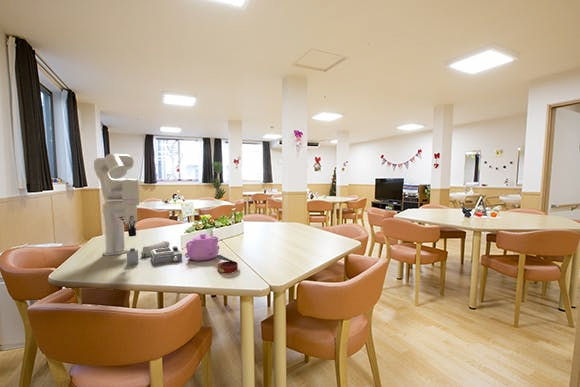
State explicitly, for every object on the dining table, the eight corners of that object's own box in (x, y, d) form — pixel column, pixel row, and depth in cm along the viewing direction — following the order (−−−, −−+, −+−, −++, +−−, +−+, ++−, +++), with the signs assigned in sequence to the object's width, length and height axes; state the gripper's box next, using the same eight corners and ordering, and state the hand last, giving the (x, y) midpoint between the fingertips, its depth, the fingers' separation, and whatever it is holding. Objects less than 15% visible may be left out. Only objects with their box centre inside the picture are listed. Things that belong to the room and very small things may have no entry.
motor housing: (150, 258, 146) (150, 248, 145) (177, 254, 153) (177, 245, 153) (154, 266, 132) (153, 256, 132) (182, 261, 140) (182, 251, 139)
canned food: (218, 278, 129) (215, 258, 132) (238, 273, 132) (234, 254, 136) (218, 275, 119) (215, 254, 122) (240, 270, 122) (236, 250, 126)
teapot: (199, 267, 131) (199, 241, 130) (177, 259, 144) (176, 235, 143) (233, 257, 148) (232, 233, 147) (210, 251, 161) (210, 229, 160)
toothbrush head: (170, 241, 172) (147, 245, 147) (170, 251, 171) (147, 257, 146) (163, 240, 172) (139, 245, 147) (162, 250, 172) (138, 256, 147)
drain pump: (126, 263, 137) (126, 248, 137) (138, 261, 140) (137, 246, 140) (127, 266, 133) (126, 250, 132) (138, 264, 136) (138, 249, 135)
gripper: (122, 201, 140) (123, 232, 141) (122, 203, 125) (123, 238, 126) (138, 201, 144) (139, 231, 145) (140, 203, 130) (141, 236, 130)
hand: (132, 234), depth 135 cm, fingers open, 9 cm apart
